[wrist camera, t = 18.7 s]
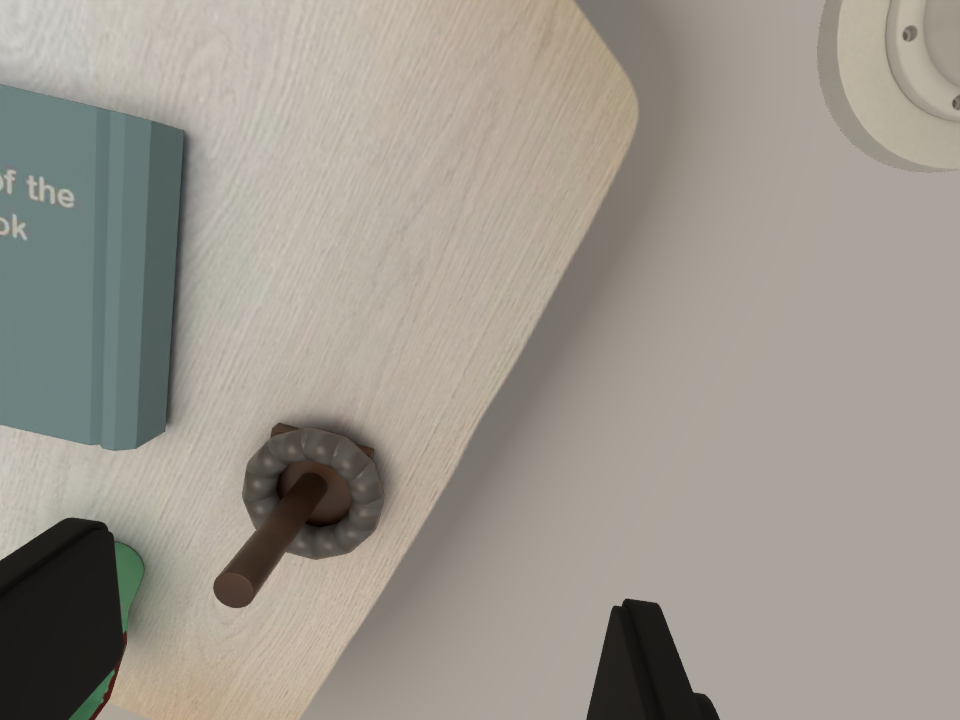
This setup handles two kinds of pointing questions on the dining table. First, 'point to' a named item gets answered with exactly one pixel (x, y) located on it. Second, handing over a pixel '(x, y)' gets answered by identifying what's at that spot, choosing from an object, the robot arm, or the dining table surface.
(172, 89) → the dining table surface
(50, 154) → the book
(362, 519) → the segmented grey ring
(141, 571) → the mug
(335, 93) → the dining table surface
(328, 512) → the post
